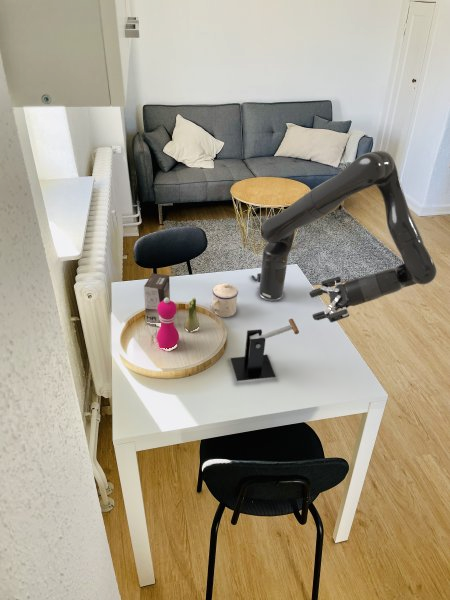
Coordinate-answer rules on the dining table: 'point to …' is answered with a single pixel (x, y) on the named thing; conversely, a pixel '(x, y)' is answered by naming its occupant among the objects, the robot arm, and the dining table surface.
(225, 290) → the teacup with lid
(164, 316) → the pepper mill
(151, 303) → the coffee box
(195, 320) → the fennel bulb
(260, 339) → the bracket
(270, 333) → the lever
